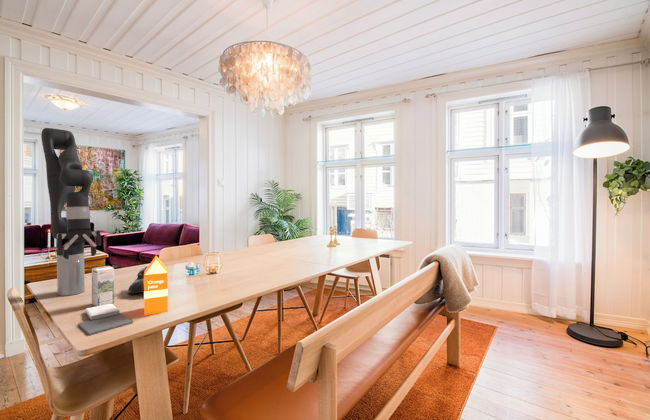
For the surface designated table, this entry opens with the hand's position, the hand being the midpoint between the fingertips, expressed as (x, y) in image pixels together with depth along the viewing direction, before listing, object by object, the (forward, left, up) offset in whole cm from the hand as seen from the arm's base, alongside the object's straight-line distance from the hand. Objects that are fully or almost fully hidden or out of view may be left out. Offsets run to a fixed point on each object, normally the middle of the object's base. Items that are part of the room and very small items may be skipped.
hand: (80, 257), depth 125 cm
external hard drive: (+26, 0, -17) cm, 31 cm away
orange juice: (+36, +14, -18) cm, 42 cm away
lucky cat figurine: (+11, +21, -18) cm, 29 cm away
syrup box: (+14, +4, -18) cm, 23 cm away
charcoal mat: (+37, -2, -17) cm, 40 cm away
